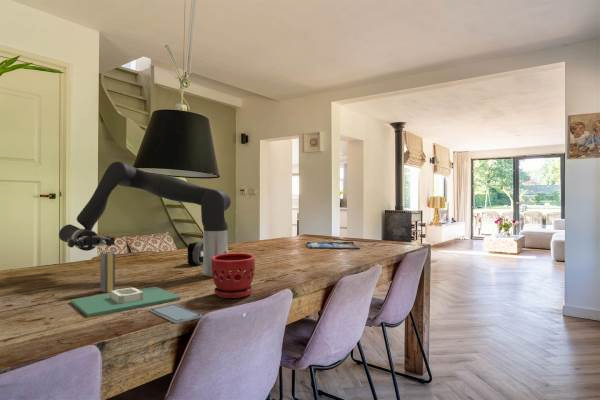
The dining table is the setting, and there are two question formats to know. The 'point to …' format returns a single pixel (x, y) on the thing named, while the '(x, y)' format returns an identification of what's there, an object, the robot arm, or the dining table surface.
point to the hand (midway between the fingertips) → (96, 243)
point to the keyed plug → (107, 272)
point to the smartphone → (175, 313)
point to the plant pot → (233, 274)
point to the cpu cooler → (195, 253)
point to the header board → (123, 300)
